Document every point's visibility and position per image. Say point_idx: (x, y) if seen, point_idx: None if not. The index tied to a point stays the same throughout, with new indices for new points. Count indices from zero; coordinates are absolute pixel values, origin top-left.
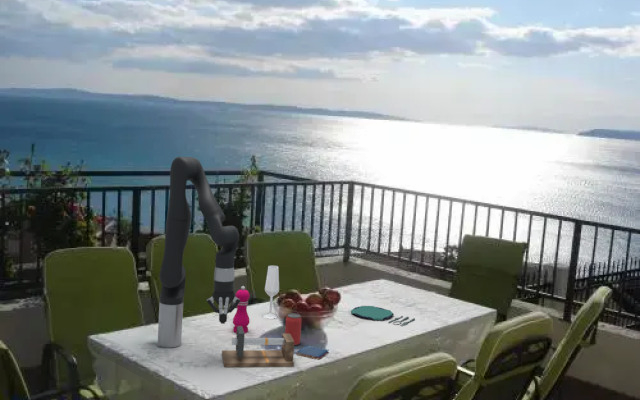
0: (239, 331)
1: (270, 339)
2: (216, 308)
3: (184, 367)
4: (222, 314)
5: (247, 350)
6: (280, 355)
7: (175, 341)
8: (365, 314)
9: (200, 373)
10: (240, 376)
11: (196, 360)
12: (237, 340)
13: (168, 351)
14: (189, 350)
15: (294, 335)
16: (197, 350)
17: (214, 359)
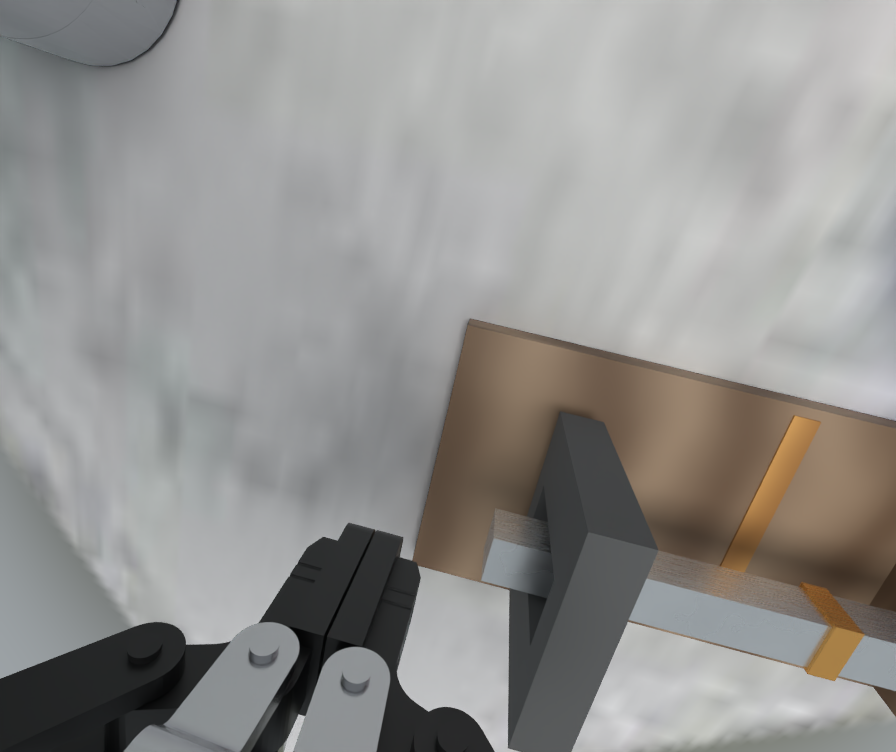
0: (538, 698)
1: (863, 678)
2: (123, 723)
3: (184, 482)
4: (297, 712)
5: (677, 376)
6: (882, 548)
7: (91, 44)
8: None
9: (263, 585)
10: (465, 681)
11: (267, 391)
12: (529, 586)
13: (85, 153)
14: (241, 166)
15: None
16: (303, 181)
17: (389, 405)
